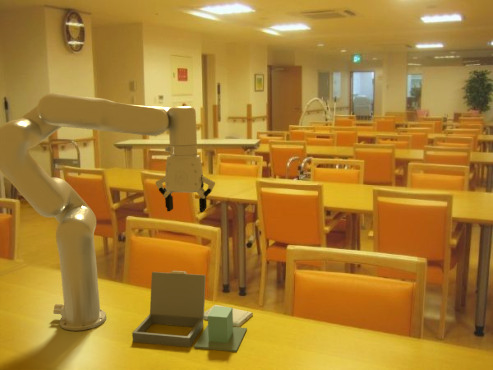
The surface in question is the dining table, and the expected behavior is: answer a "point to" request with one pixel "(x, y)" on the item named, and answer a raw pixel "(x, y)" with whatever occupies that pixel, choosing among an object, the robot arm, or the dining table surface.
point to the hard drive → (234, 316)
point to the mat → (230, 346)
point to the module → (220, 324)
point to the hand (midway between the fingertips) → (186, 210)
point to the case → (167, 339)
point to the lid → (178, 294)
